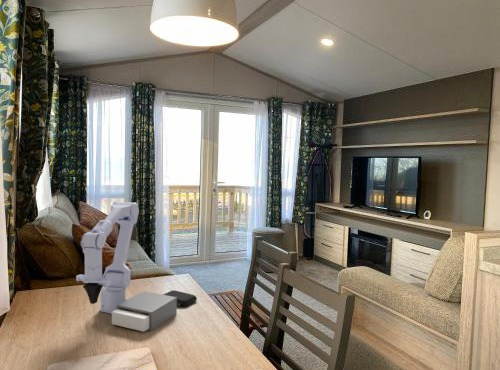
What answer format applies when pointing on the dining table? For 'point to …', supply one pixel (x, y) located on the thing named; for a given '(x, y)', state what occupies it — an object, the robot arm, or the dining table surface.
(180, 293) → the carrying case or bag
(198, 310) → the dining table surface
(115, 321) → the tray
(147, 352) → the dining table surface
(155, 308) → the housing
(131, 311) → the block
